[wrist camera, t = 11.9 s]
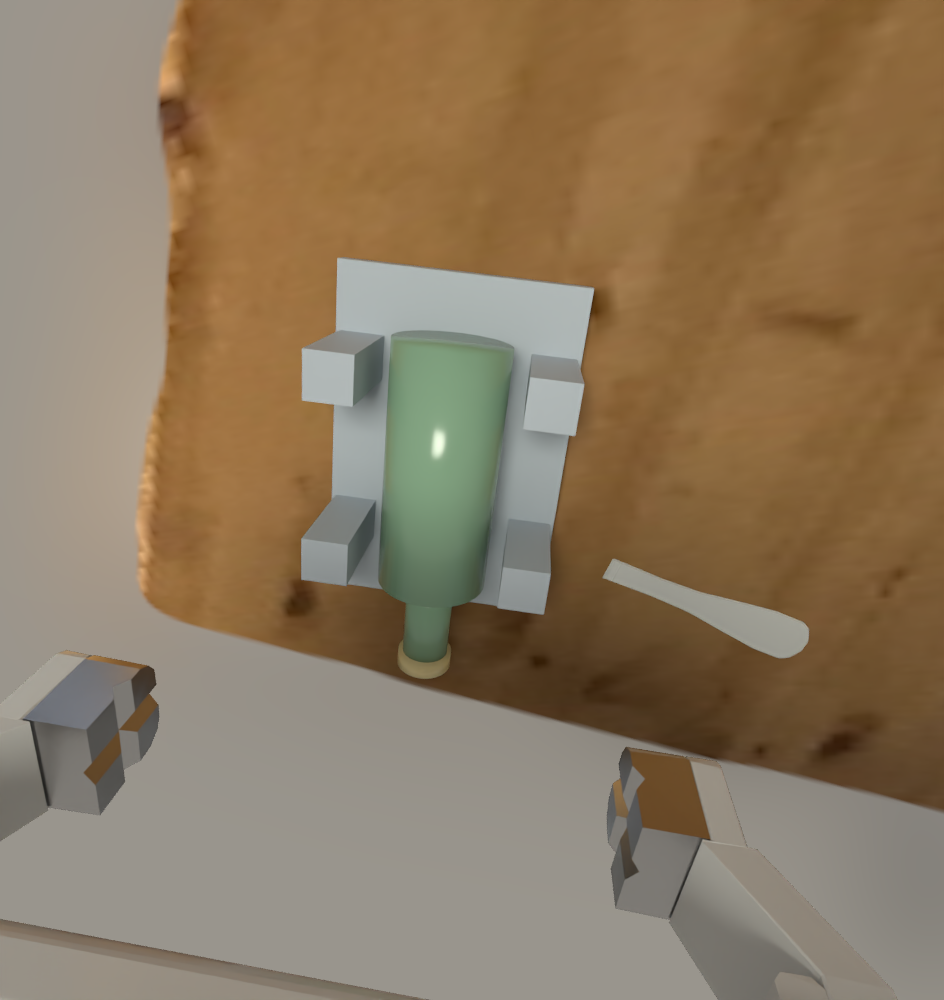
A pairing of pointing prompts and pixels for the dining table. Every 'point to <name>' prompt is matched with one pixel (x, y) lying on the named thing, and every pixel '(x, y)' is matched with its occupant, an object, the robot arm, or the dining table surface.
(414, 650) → the bottle
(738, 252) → the dining table surface
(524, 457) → the rest
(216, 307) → the dining table surface
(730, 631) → the butter knife
